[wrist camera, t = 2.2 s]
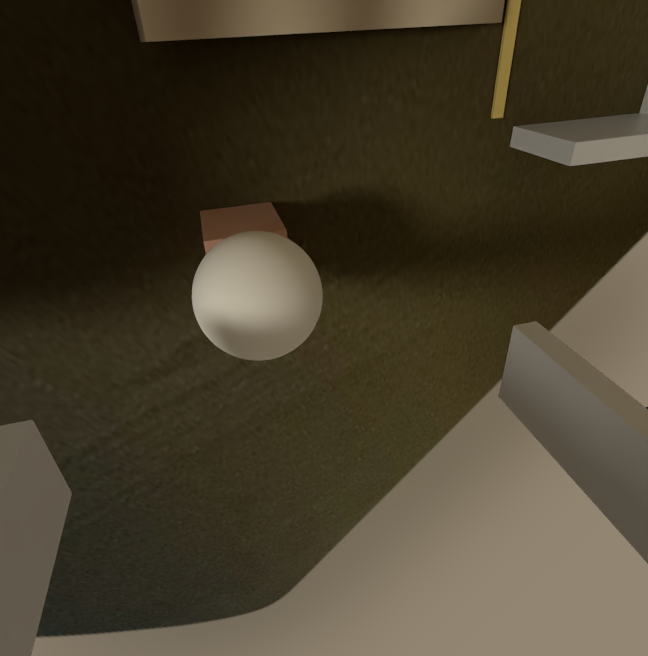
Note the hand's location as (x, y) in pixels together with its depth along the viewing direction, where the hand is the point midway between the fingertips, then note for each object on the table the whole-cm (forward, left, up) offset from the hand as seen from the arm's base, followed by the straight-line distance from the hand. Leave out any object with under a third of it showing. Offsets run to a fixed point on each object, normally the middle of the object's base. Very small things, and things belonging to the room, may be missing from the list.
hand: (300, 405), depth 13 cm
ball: (0, 0, -6) cm, 6 cm away
